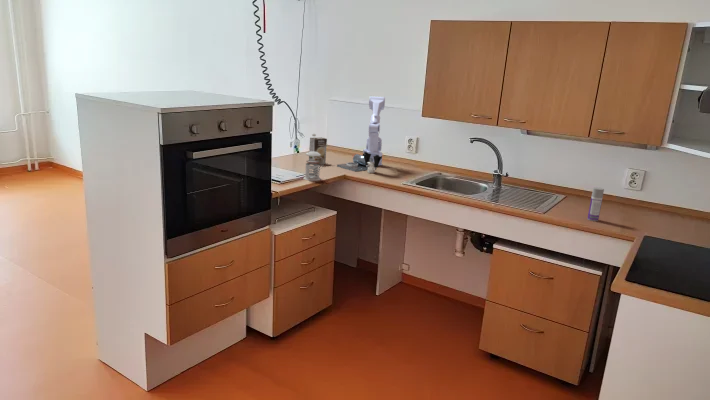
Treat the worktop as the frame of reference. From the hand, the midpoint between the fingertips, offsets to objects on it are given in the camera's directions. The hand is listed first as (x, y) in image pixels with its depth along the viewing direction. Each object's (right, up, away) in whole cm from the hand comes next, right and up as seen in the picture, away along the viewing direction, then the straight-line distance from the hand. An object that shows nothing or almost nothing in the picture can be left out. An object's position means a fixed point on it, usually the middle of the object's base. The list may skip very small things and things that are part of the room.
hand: (371, 166), depth 315 cm
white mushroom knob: (0, -3, +1) cm, 4 cm away
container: (+101, -30, -73) cm, 128 cm away
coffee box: (-34, +3, +17) cm, 39 cm away
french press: (-33, -9, -26) cm, 43 cm away
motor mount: (-9, 0, +11) cm, 15 cm away
